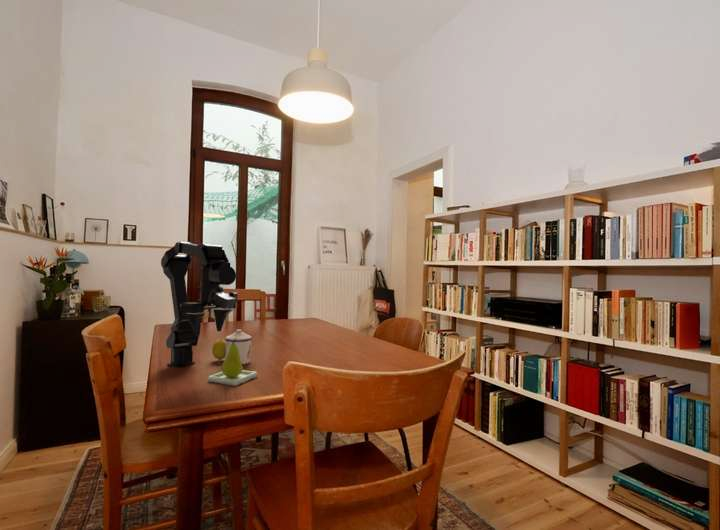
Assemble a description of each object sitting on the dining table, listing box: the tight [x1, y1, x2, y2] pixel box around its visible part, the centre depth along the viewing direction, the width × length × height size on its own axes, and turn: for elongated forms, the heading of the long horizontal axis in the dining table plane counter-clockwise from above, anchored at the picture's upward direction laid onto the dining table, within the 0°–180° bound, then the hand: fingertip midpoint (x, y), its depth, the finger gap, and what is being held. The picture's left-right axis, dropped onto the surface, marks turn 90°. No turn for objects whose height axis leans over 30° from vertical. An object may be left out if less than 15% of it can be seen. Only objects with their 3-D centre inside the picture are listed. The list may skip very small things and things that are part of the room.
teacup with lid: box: [224, 329, 253, 365], centre depth 134 cm, size 12×9×12 cm
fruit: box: [221, 338, 244, 378], centre depth 113 cm, size 6×6×12 cm
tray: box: [207, 369, 258, 387], centre depth 113 cm, size 10×10×2 cm
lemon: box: [211, 338, 226, 361], centre depth 134 cm, size 6×6×8 cm
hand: (208, 333), depth 116 cm, fingers open, 9 cm apart
